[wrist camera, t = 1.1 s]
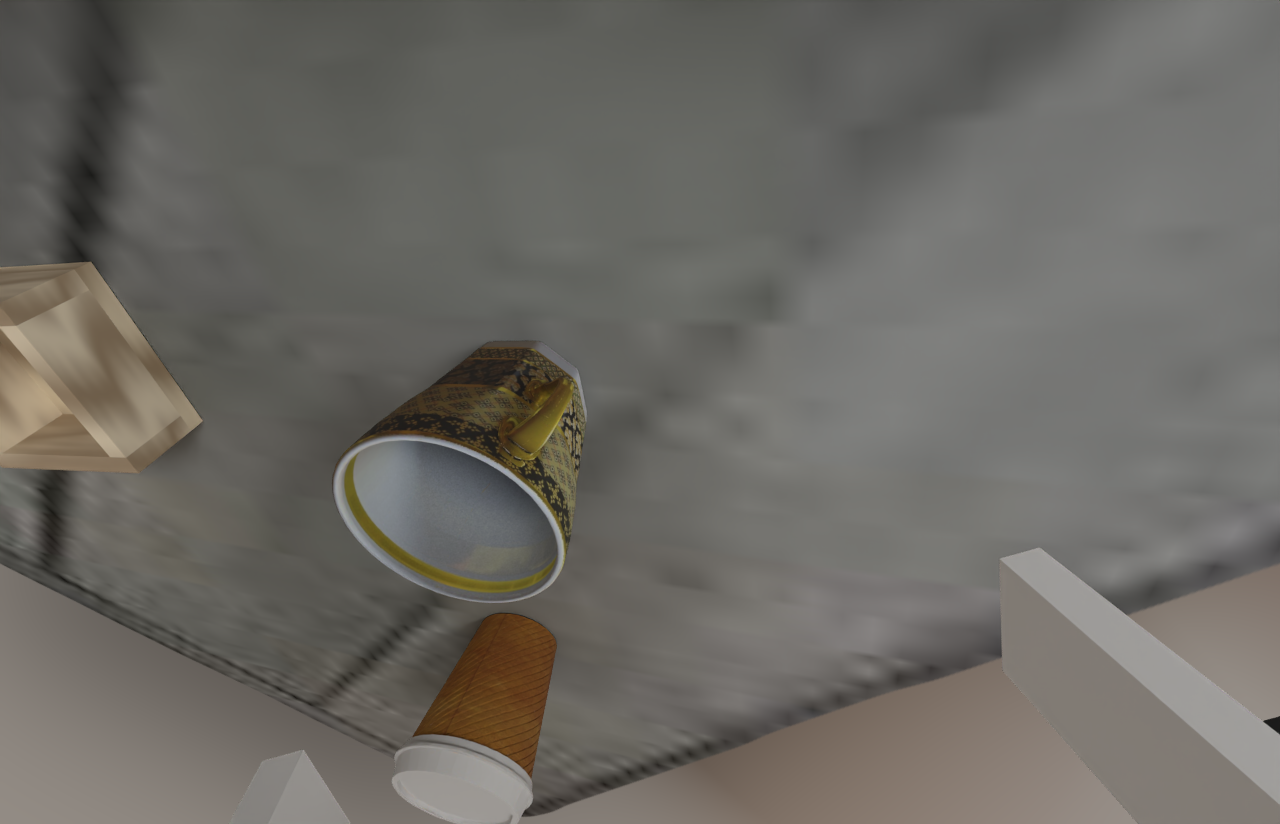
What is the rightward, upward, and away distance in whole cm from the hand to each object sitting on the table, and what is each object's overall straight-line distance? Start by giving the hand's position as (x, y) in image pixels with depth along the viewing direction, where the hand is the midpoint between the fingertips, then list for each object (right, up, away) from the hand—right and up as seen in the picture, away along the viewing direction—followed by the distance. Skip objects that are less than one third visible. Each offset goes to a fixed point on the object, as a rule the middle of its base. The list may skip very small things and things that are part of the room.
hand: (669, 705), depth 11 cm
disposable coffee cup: (-10, -12, +37) cm, 40 cm away
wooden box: (-35, +9, +26) cm, 45 cm away
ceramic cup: (-6, +8, +21) cm, 23 cm away
